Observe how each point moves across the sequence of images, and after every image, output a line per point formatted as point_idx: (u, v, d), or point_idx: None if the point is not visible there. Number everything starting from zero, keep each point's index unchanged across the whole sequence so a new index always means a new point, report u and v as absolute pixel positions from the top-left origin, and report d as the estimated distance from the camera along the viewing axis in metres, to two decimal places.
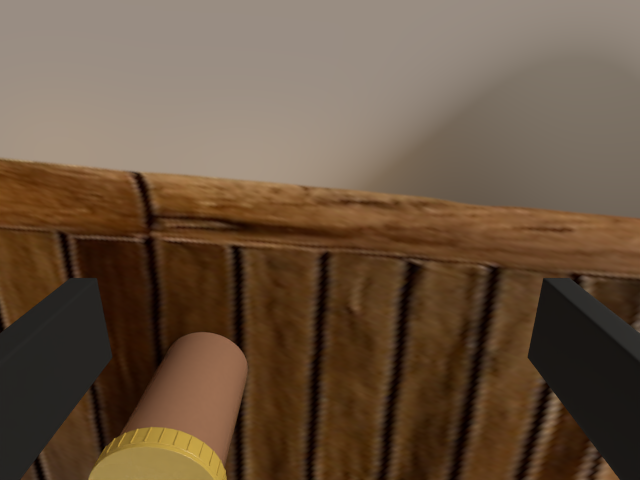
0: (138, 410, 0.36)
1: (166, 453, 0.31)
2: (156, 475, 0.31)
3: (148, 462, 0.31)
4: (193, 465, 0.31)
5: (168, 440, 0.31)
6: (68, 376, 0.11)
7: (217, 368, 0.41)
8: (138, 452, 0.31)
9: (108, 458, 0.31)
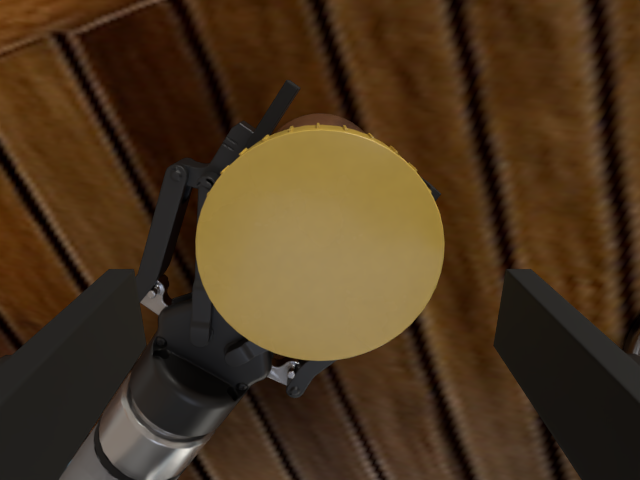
0: None
1: (310, 140, 0.16)
2: (308, 201, 0.16)
3: (284, 177, 0.16)
4: (367, 150, 0.16)
5: None
6: (111, 361, 0.12)
7: (338, 121, 0.26)
8: (260, 159, 0.16)
9: (213, 194, 0.16)
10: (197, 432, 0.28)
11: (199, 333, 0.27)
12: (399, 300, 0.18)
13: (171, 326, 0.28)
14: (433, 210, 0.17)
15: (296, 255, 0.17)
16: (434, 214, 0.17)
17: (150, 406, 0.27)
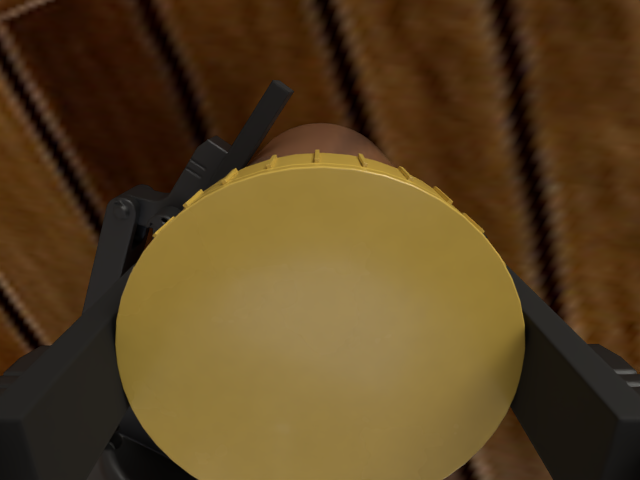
0: None
1: (304, 185, 0.09)
2: (300, 284, 0.10)
3: (260, 245, 0.09)
4: (403, 202, 0.09)
5: None
6: None
7: (344, 136, 0.19)
8: (217, 216, 0.09)
9: (139, 274, 0.10)
10: None
11: None
12: (447, 431, 0.11)
13: None
14: (511, 298, 0.10)
15: (281, 366, 0.11)
16: (512, 304, 0.10)
17: None
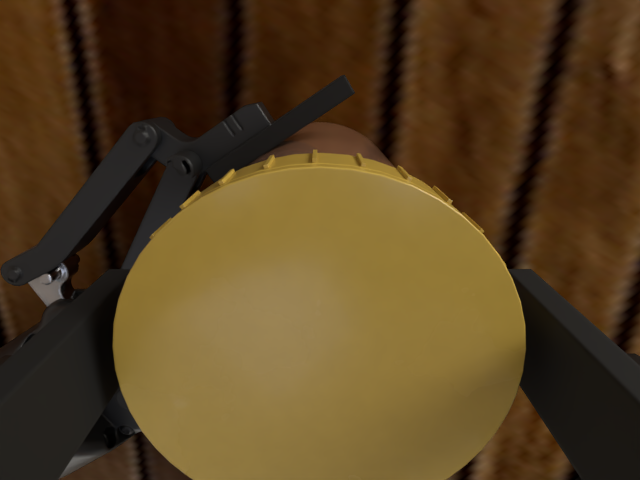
0: None
1: (136, 298, 0.10)
2: (225, 345, 0.10)
3: (175, 354, 0.10)
4: (188, 229, 0.09)
5: None
6: (111, 361, 0.12)
7: (378, 151, 0.19)
8: (134, 369, 0.10)
9: (157, 442, 0.11)
10: None
11: None
12: (466, 300, 0.10)
13: None
14: (342, 177, 0.09)
15: (298, 396, 0.11)
16: (351, 178, 0.09)
17: None
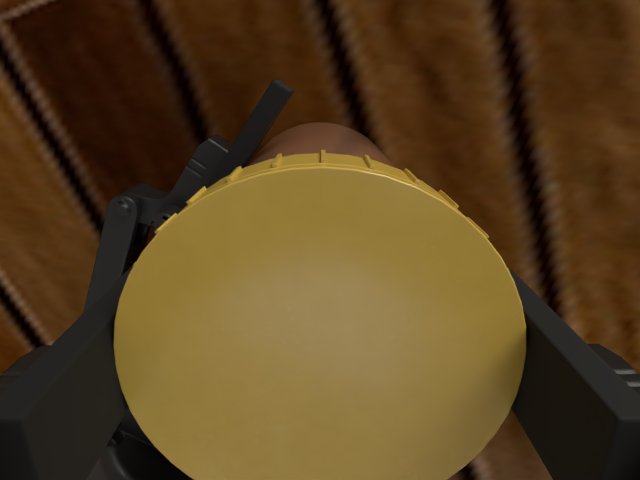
0: None
1: (129, 361, 0.10)
2: (223, 376, 0.11)
3: (185, 399, 0.11)
4: (144, 285, 0.10)
5: None
6: None
7: (344, 135, 0.19)
8: (157, 424, 0.11)
9: None
10: None
11: None
12: (428, 255, 0.09)
13: None
14: (254, 185, 0.09)
15: (312, 401, 0.11)
16: (263, 183, 0.09)
17: None
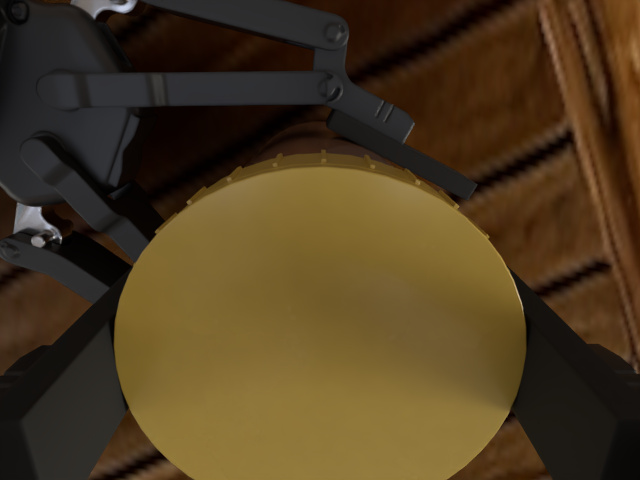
0: None
1: (129, 360, 0.10)
2: (223, 376, 0.11)
3: (185, 399, 0.11)
4: (144, 284, 0.10)
5: None
6: None
7: None
8: (157, 424, 0.11)
9: None
10: None
11: (66, 91, 0.16)
12: (429, 255, 0.09)
13: (58, 32, 0.16)
14: (255, 185, 0.09)
15: (312, 401, 0.11)
16: (263, 183, 0.09)
17: None
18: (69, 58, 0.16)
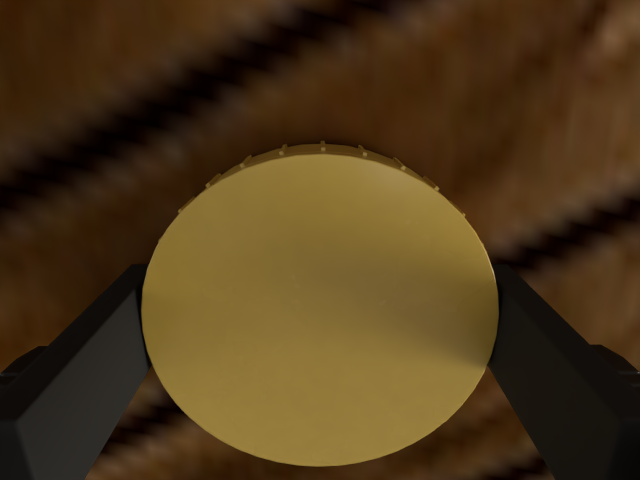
0: None
1: (154, 324, 0.12)
2: (236, 338, 0.12)
3: (202, 359, 0.12)
4: (168, 256, 0.11)
5: None
6: (137, 353, 0.12)
7: None
8: (177, 382, 0.13)
9: (220, 435, 0.13)
10: None
11: None
12: (413, 230, 0.11)
13: None
14: (265, 169, 0.10)
15: (313, 360, 0.12)
16: (272, 168, 0.10)
17: None
18: None
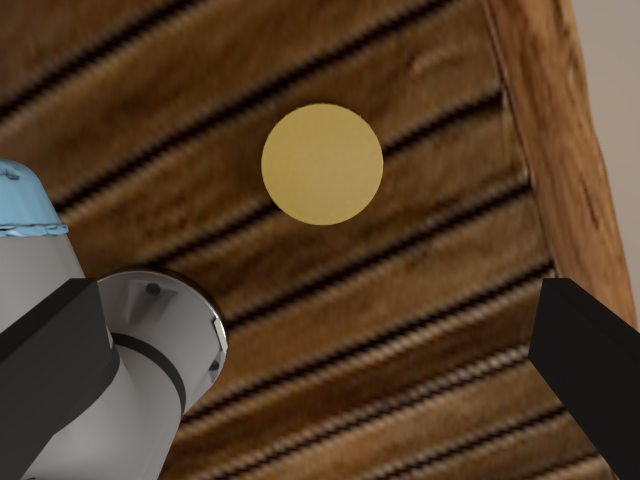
0: None
1: (266, 164, 0.35)
2: (293, 169, 0.35)
3: (281, 177, 0.36)
4: (272, 138, 0.35)
5: None
6: (68, 376, 0.11)
7: None
8: (272, 187, 0.36)
9: (285, 210, 0.37)
10: None
11: None
12: (352, 129, 0.34)
13: None
14: (305, 108, 0.34)
15: (319, 178, 0.36)
16: (307, 108, 0.34)
17: None
18: None
